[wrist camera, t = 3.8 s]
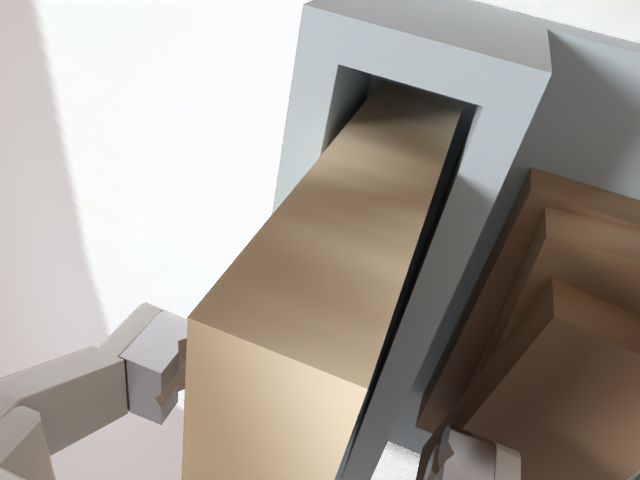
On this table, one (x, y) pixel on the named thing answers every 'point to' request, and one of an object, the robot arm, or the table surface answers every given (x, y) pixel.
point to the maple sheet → (313, 300)
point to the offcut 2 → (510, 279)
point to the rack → (458, 154)
